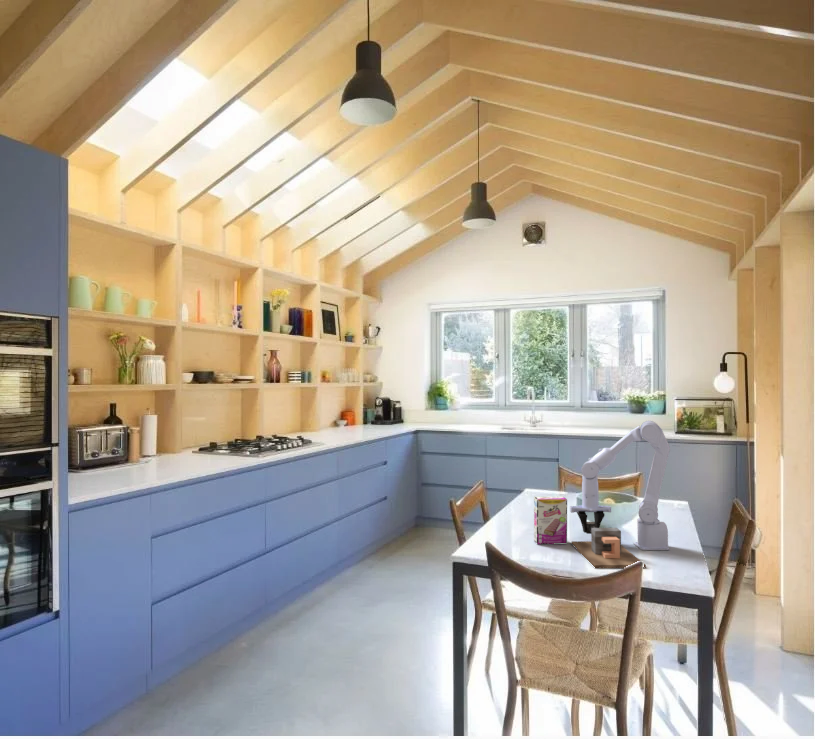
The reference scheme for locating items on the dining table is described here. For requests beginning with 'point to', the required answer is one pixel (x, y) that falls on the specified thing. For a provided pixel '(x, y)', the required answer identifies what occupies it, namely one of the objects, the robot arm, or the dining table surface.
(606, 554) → the spacer
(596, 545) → the bearing stand
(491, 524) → the dining table surface
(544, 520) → the candy bar box
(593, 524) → the shaft
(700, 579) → the dining table surface
